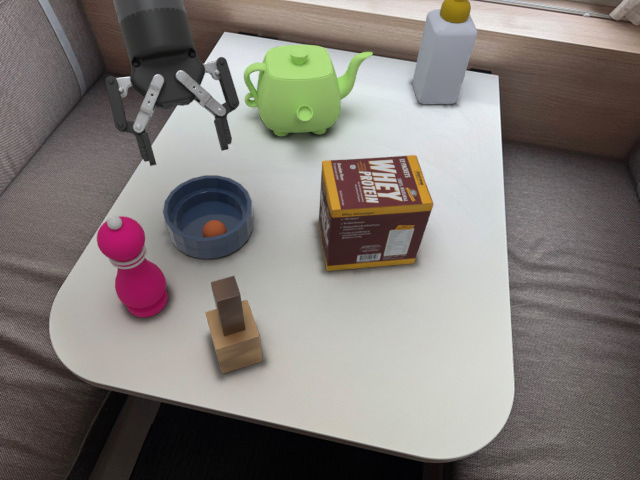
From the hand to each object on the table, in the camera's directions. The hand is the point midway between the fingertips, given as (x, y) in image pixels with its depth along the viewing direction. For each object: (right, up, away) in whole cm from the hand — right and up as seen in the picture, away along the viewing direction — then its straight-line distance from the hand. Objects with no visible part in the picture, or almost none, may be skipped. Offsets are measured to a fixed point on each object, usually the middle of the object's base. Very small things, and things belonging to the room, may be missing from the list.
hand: (190, 157), depth 62 cm
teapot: (+13, +14, +46) cm, 50 cm away
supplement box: (+23, -11, +28) cm, 38 cm away
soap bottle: (+41, +23, +55) cm, 73 cm away
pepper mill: (-12, -19, +20) cm, 30 cm away
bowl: (-4, -8, +29) cm, 30 cm away
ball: (-2, -8, +25) cm, 27 cm away
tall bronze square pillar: (+3, -21, +9) cm, 23 cm away
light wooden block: (+3, -26, +15) cm, 30 cm away
